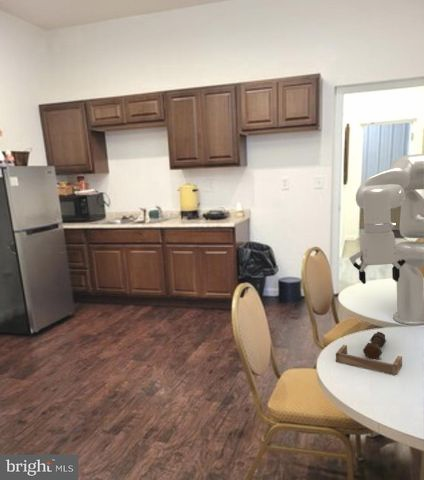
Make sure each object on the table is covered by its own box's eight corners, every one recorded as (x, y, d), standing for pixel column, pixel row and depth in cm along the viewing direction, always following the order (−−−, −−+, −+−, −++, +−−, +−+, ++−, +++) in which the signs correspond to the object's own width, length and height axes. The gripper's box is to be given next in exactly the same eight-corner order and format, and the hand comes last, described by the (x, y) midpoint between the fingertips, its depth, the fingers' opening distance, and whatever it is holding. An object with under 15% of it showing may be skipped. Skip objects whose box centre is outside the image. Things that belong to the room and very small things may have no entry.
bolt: (383, 345, 136) (374, 363, 123) (370, 337, 138) (360, 354, 125) (391, 333, 133) (383, 350, 121) (378, 325, 135) (369, 341, 123)
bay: (343, 352, 130) (343, 344, 129) (402, 365, 118) (401, 356, 118) (336, 361, 124) (335, 353, 124) (396, 375, 113) (396, 366, 112)
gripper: (402, 223, 118) (403, 276, 121) (345, 228, 120) (348, 280, 123) (412, 227, 111) (413, 283, 114) (351, 232, 113) (353, 287, 116)
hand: (379, 281), depth 118 cm, fingers open, 9 cm apart
